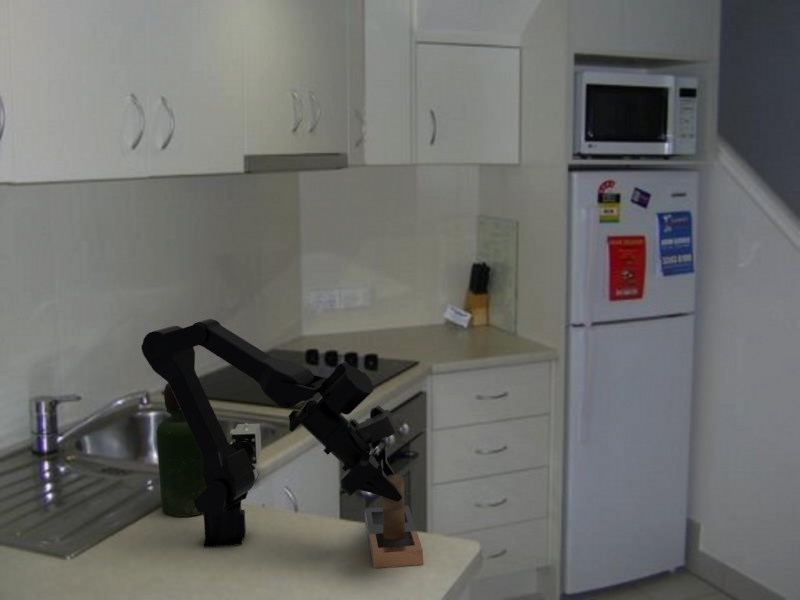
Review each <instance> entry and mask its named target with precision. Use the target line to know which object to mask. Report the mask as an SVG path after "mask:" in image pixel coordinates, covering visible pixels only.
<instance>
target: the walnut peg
mask: <svg viewBox="0 0 800 600" xmlns="http://www.w3.org/2000/svg"><path fill="white" fill-rule="evenodd" d="M386 476H387V477H388V478H389V479H390V481H391V482H392V483H393V484H394V486H395V487H396V488H397V490H398V491H399V492H400V494H401V495H402V499H401V500H400V501H398V502H397V501H394V500H391V499H388V498H385V497H382V496H381V497H382V499H381V500H382V507H383V537H384V538H385V539H387V540H391V541H396V540H401V539H403V538H404V537H405V512H404V506H405V477H404V476H402V475H400V474H396V475H386Z"/></svg>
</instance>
